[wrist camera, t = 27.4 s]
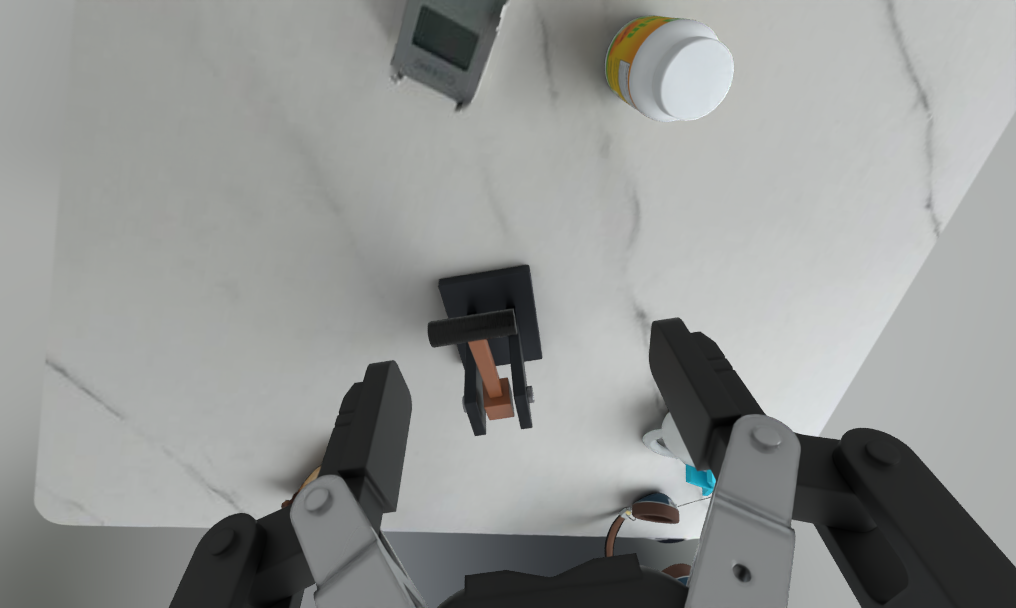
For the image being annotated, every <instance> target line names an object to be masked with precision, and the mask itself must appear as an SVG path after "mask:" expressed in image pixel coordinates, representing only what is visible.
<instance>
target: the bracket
mask: <svg viewBox="0 0 1016 608" xmlns="http://www.w3.org/2000/svg"><path fill="white" fill-rule="evenodd" d="M438 287H439V290H440V293H441V296H442V300H443V303H444V306H445V309H446V312H447V316H448V319H450V318H457V317H463V316H469V315H475V314H482V313H488V312H494V311H501V310H507V309H513V310H514V314H515V320H516V326H517V335H511V336H505V337H498V338H492V339H487V341H488V345H489V348H490V351H491V354H492V357H493V360H494V363H495V366H499V365H506V364H511V372H512V383H513V394H514V400H515V404H516V409H517V413H518V418H519V422H520V427H521V429H527V428H532V420H531V412H530V404H529V403H533V402H534V395H533V389H532V386H527V381H526V373H525V366H524V362H525V361H532V360H539V359H542V351H541V344H540V337H539V330H538V323H537V316H536V308H535V301H534V294H533V287H532V280H531V273H530V268H529V265H525V266H519V267H513V268H507V269H501V270H494V271H488V272H482V273H476V274H470V275H464V276H458V277H452V278H445V279H440V280H439V285H438ZM457 347H458V351H459V354H460V357H461V360H462V363H463V366H464V370H465V386H464V396H463V399H462V402H463V409H464V412H467V414H468V417H469V420H470V423H471V426H472V429H473V432H474V435H475V436H479V435H486V411H485V409H484V401H483V386H482V381H483V379H482V377H481V374H480V372H479V369H478V367H477V364H476V362H475V359H474V357H473V354H472V352H471V349H470V347H469V344H468V342H466V343H460V344H457Z"/></svg>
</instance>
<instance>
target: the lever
mask: <svg viewBox="0 0 1016 608" xmlns="http://www.w3.org/2000/svg"><path fill="white" fill-rule="evenodd" d="M511 335H517V326H516V320H515V314H514V310H513V309H507V310H501V311H494V312H488V313H482V314H475V315H469V316H463V317H457V318H450V319H444V320H438V321H431V322H429V323H428V337H429V341H430V344H431V346H432V347H441V346H447V345H453V344H460V343H466V342H468V344H469V347H470V349H471V352H472V354H473V357H474V359H475V362H476V364H477V367H478V369H479V372H480V374H481V377H482V379H483V381H482V386H483V401H484V409H485V411H486V413H487V415H488V418H489V420H495V419H502V418H509V417H514V407H513V399H512V391H511V387H510V384H509V380H508V378H501V379H499V376H498V372H497V369H496V366H495V363H494V360H493V357H492V354H491V351H490V348H489V345H488V341H487V339H492V338H498V337H505V336H511Z"/></svg>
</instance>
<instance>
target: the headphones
mask: <svg viewBox="0 0 1016 608" xmlns="http://www.w3.org/2000/svg"><path fill="white" fill-rule="evenodd" d="M709 498H710V497H709ZM705 499H707V498H705ZM701 500H703V499H701ZM697 501H699V500H697ZM694 502H695V501H694ZM691 503H692V502H691ZM687 504H689V503H687ZM684 505H686V504H684ZM676 506H677V505H676V504H675V503H674V502H673V501H672V500H671V499H670V498H669V497H668V496H667V495H665V494H662V493H655V494H652V495H649V496H646V497H644V498H642V499H640V500H639V501H637V502H635V503H634V504H633V505H632V507H630V508H629V509H630V510H629V509H627V508H624V509H623V510H622V511H621V512H619V516H618V517H617V518H616V519H615V521H614V522H613V523H612V525H611V527H610V529H609V532H608V534H607V537H606V542H605V557H610V556H613V549H614V542H615V539H616V536H617V533H618V531H619V529H620V527H621V525H622V523H623V521H624V520H625V519H628V518H630V517H629V516H630V515H631V513H632V515H633V517H635V520H636V518H637V519H641V520H646V521H651V522H658V523H669V524H676V523H679V511H678V509H677V507H676ZM681 506H682V505H681ZM678 507H679V506H678ZM631 508H632V509H631ZM631 510H632V512H631ZM630 519H631V518H630ZM631 520H633V519H631ZM690 570H691V566H690V565H687V564H675V565H672V566H670V567H668V568H666V569H664V570H663V571H661V572H664V573H666V574H668V575H670V576H672V577H674V578H675V579H677V580H679V581H680V582H682V583H683V584H684V585H686V584H687V580H688V577H689V573H690Z"/></svg>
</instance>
